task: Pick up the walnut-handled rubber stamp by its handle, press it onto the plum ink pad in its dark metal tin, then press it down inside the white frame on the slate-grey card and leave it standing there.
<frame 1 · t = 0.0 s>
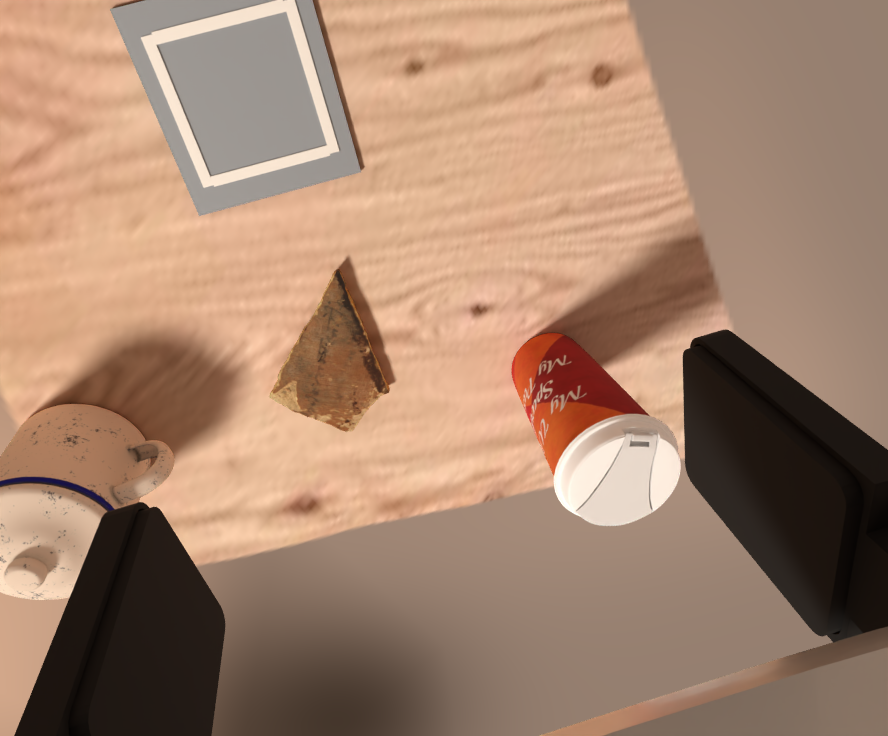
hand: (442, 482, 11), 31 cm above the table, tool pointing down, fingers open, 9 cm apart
marked card: (247, 97, 35), on the table
shard: (316, 353, 45), on the table
paper cup: (545, 364, 48), on the table
teacup with lid: (105, 443, 45), on the table
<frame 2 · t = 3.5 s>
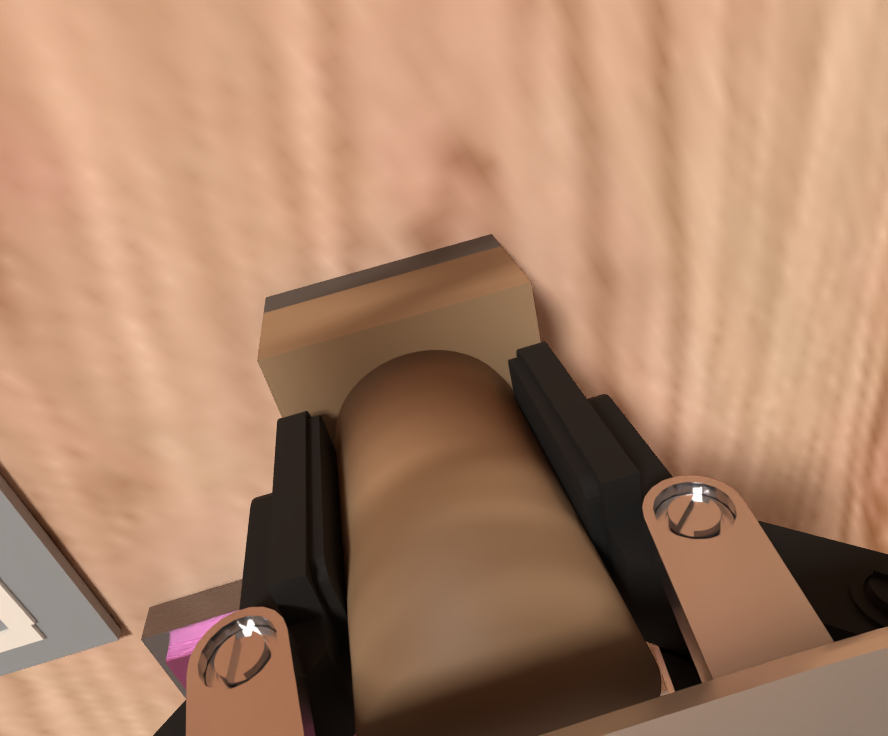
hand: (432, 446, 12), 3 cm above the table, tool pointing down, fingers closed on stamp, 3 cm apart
ink pad: (349, 636, 19), on the table
stamp: (408, 363, 15), on the table, touching gripper
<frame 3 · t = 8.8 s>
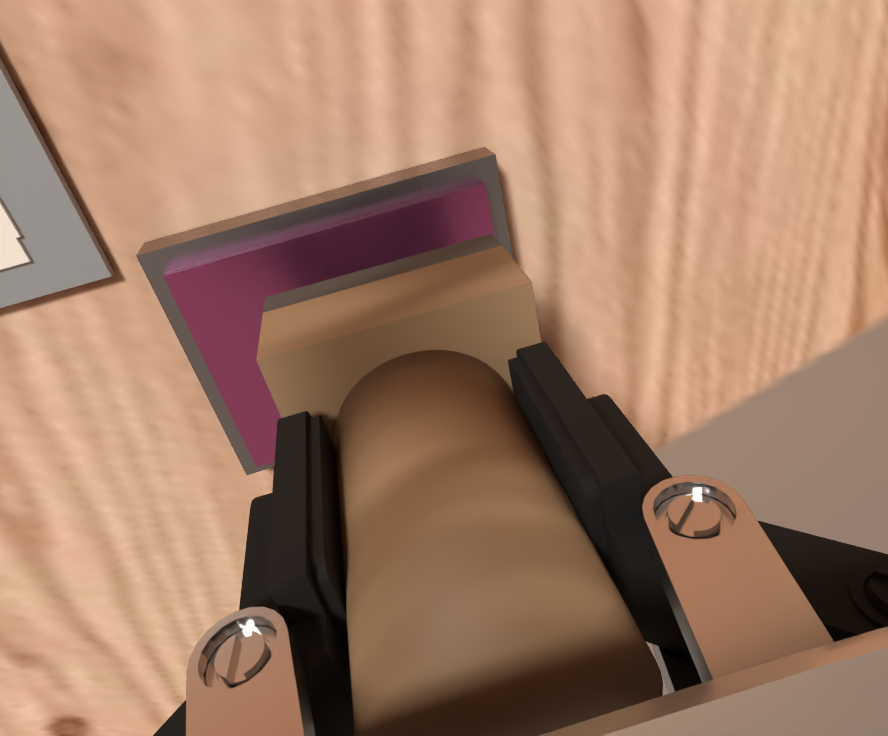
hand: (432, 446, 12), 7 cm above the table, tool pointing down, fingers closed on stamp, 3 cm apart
ink pad: (356, 313, 18), on the table
stamp: (408, 363, 15), point 4 cm above the table, touching gripper
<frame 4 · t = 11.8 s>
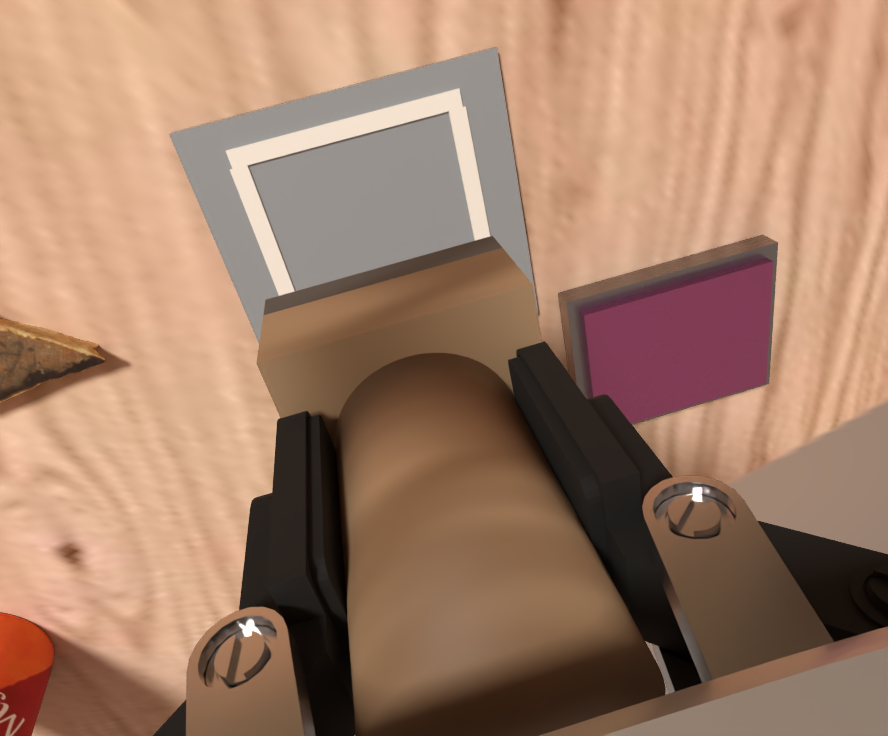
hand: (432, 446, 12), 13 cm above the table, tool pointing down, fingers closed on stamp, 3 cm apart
marked card: (375, 232, 23), on the table
ink pad: (664, 336, 28), on the table
stamp: (408, 365, 15), point 10 cm above the table, touching gripper
when the fingers open (4 cm above the table, at t = 14.2 s): stamp stays where it is, resting on marked card.
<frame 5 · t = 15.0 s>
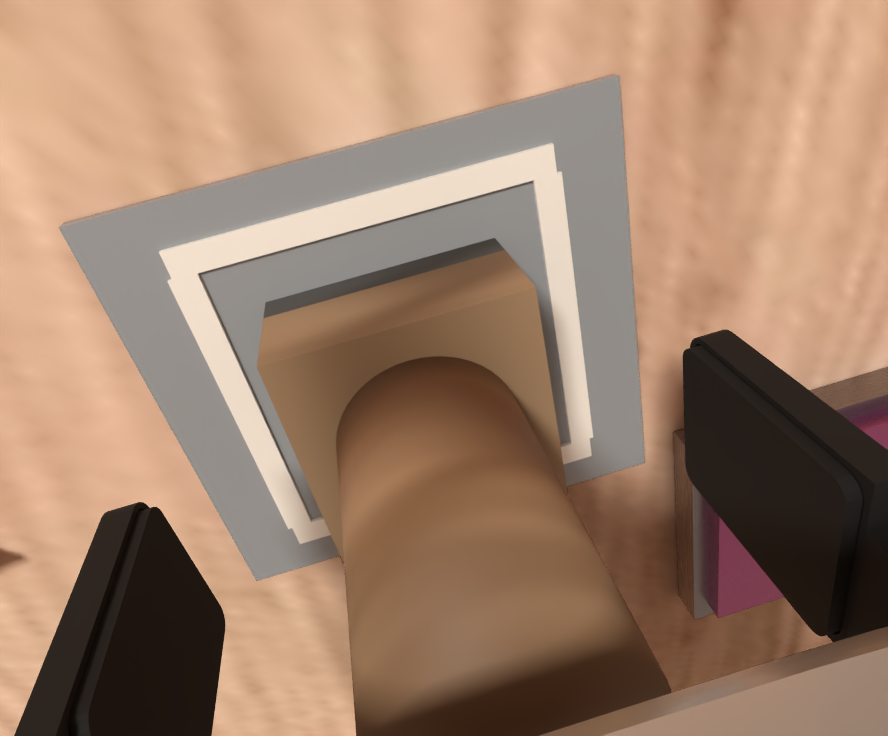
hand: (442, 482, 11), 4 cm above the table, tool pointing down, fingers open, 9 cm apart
marked card: (407, 362, 15), on the table
ink pad: (813, 478, 20), on the table
stamp: (410, 368, 15), resting on marked card
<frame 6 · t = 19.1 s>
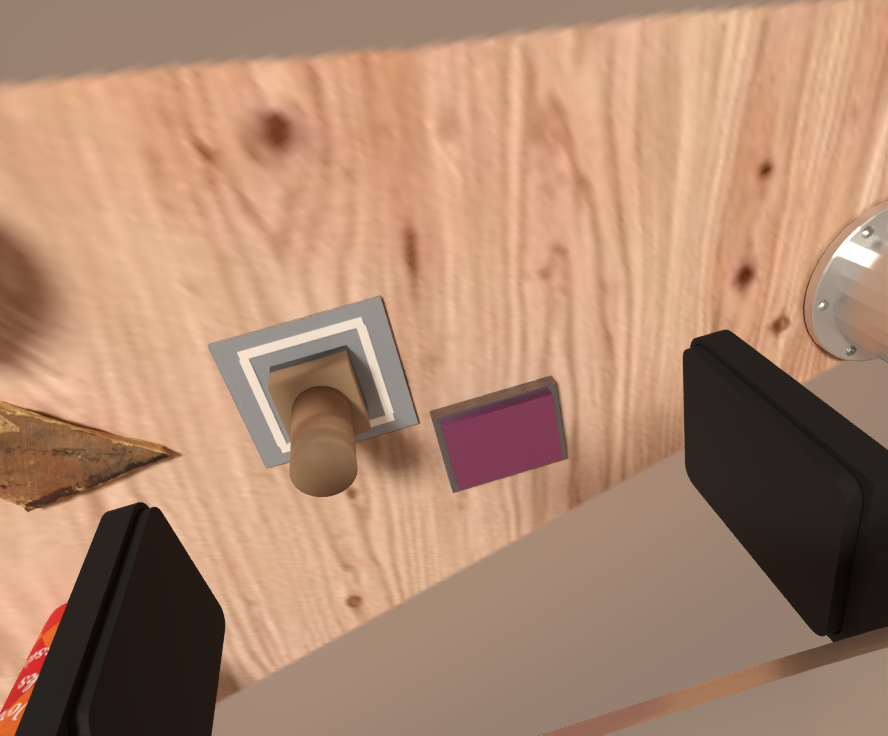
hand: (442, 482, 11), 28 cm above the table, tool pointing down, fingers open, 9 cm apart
marked card: (320, 385, 42), on the table
shard: (56, 431, 41), on the table
ink pad: (499, 431, 47), on the table
paper cup: (88, 622, 48), on the table
stamp: (320, 387, 42), resting on marked card
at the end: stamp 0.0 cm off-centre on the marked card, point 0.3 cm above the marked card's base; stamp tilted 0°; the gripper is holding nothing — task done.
